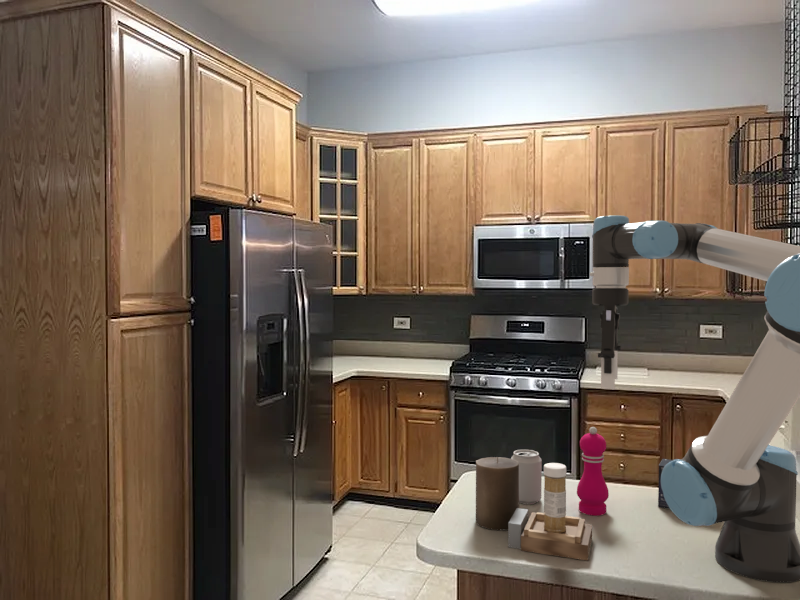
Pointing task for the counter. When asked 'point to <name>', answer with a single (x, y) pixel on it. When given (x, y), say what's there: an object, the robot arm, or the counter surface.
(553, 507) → the sprinkles bottle
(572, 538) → the socket block
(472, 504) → the counter surface
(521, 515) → the backstop wall
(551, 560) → the counter surface
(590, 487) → the pepper mill
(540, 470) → the can
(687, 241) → the robot arm
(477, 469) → the pillar candle
